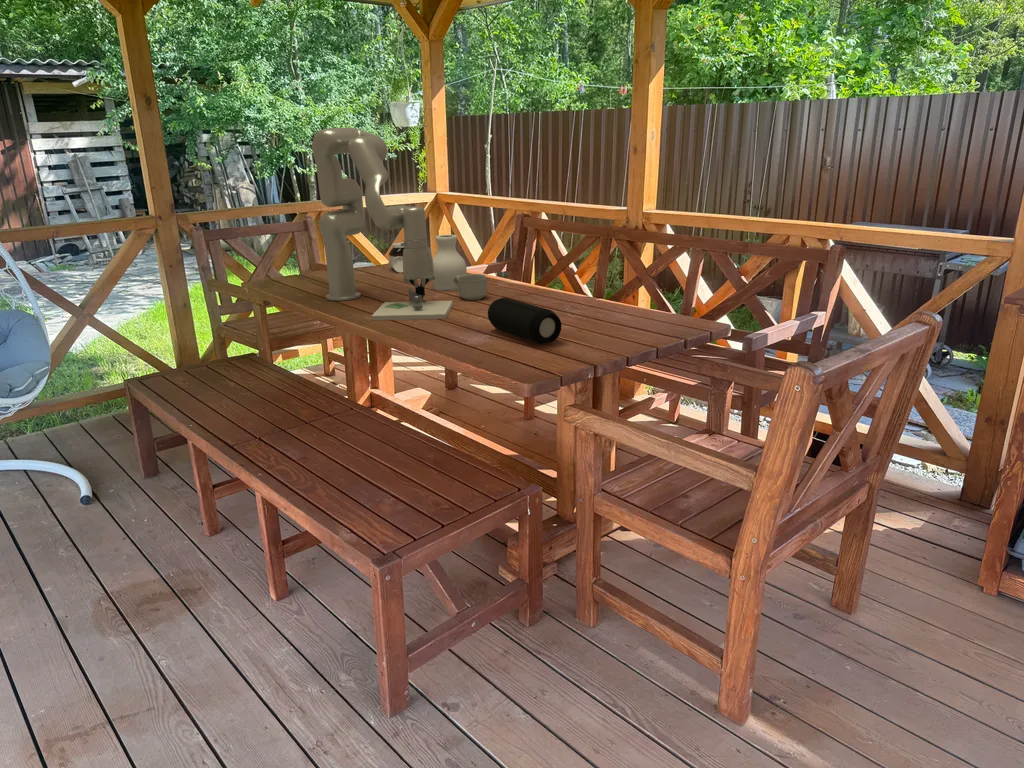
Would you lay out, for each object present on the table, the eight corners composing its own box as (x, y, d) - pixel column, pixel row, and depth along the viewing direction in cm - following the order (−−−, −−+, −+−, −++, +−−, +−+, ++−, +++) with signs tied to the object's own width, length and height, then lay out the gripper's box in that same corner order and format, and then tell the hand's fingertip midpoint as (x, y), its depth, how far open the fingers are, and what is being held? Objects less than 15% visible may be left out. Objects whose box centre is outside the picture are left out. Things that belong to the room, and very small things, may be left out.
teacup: (493, 298, 263) (492, 276, 260) (470, 303, 256) (469, 280, 254) (470, 292, 273) (468, 271, 270) (446, 297, 266) (445, 276, 264)
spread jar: (406, 267, 330) (404, 241, 326) (420, 270, 322) (418, 243, 318) (383, 271, 323) (381, 244, 319) (397, 274, 314) (395, 247, 311)
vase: (466, 291, 276) (463, 237, 269) (428, 292, 276) (424, 239, 270) (469, 283, 290) (466, 232, 283) (433, 284, 290) (429, 233, 283)
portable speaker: (564, 342, 205) (563, 308, 202) (536, 349, 200) (535, 313, 197) (512, 325, 225) (511, 293, 222) (485, 331, 220) (484, 298, 217)
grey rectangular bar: (406, 300, 253) (405, 288, 252) (415, 299, 254) (414, 288, 253) (413, 309, 240) (412, 297, 239) (423, 308, 241) (422, 296, 240)
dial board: (384, 306, 256) (384, 301, 255) (452, 304, 254) (452, 299, 254) (372, 320, 237) (371, 314, 236) (445, 318, 236) (445, 313, 235)
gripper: (395, 247, 240) (400, 302, 246) (439, 244, 243) (443, 298, 249) (392, 244, 247) (397, 297, 253) (436, 241, 250) (440, 294, 256)
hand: (420, 297), depth 251 cm, fingers closed
